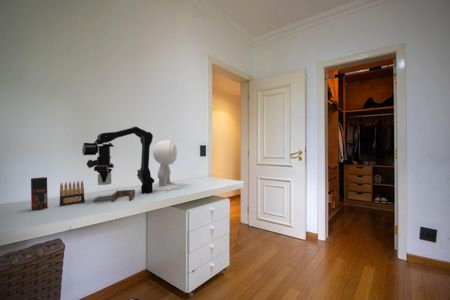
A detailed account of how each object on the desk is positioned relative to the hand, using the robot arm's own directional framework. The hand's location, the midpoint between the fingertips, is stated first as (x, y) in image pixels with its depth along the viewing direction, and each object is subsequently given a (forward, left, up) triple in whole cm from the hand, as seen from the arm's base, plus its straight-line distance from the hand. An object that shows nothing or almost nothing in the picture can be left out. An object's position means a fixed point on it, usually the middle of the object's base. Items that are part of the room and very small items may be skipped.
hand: (104, 181), depth 122 cm
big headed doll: (-33, -24, -10) cm, 42 cm away
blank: (0, 0, -1) cm, 1 cm away
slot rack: (-10, +2, -10) cm, 14 cm away
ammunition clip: (+14, +7, -10) cm, 18 cm away
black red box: (+26, +12, -10) cm, 30 cm away
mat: (0, 0, -10) cm, 10 cm away
